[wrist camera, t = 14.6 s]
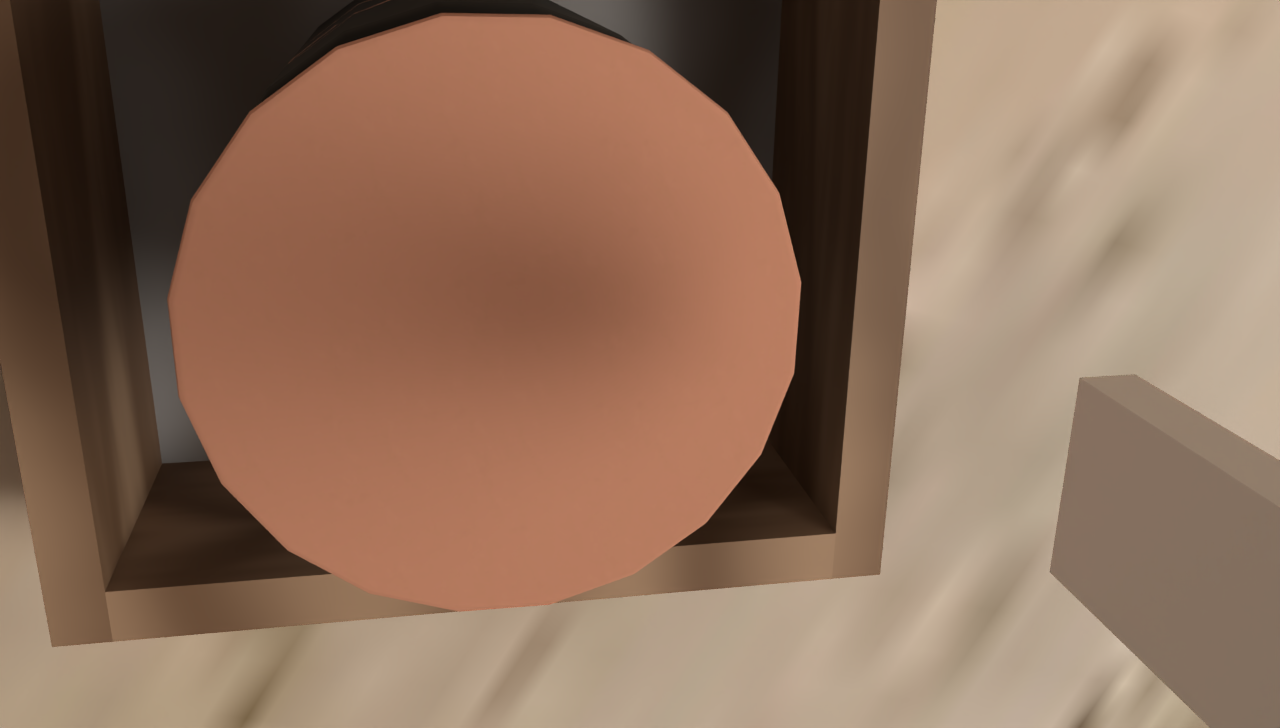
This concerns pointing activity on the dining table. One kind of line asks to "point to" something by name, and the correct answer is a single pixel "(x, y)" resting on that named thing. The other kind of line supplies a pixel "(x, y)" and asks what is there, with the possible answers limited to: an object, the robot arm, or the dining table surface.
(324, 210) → the coffee jar
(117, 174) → the open wooden box
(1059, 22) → the dining table surface
